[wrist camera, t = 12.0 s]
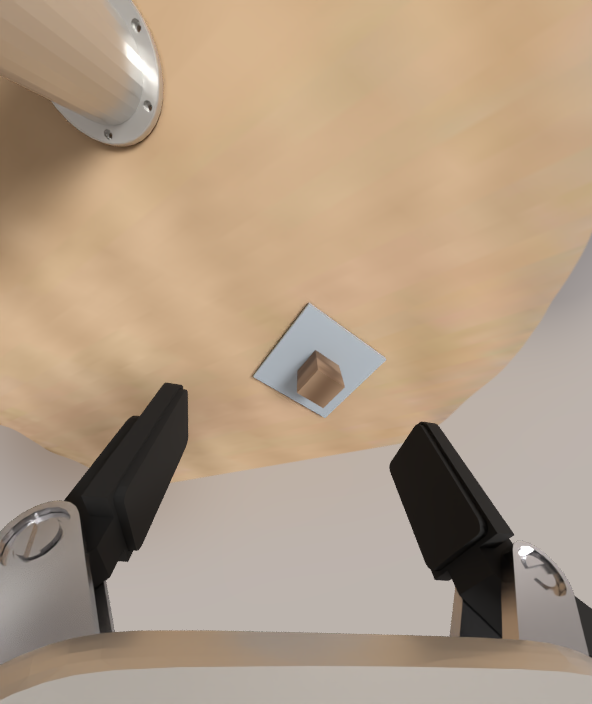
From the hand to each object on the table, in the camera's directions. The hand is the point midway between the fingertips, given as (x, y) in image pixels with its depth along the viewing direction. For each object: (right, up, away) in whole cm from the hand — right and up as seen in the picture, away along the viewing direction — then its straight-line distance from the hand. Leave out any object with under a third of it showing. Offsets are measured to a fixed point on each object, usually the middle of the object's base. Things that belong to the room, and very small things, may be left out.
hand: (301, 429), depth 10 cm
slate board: (+4, +1, +31) cm, 31 cm away
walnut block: (+4, 0, +30) cm, 31 cm away
